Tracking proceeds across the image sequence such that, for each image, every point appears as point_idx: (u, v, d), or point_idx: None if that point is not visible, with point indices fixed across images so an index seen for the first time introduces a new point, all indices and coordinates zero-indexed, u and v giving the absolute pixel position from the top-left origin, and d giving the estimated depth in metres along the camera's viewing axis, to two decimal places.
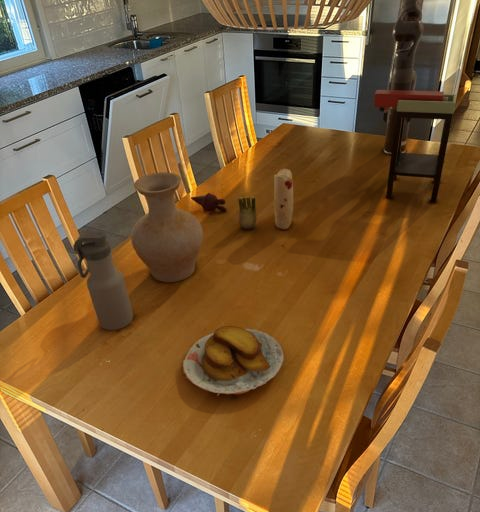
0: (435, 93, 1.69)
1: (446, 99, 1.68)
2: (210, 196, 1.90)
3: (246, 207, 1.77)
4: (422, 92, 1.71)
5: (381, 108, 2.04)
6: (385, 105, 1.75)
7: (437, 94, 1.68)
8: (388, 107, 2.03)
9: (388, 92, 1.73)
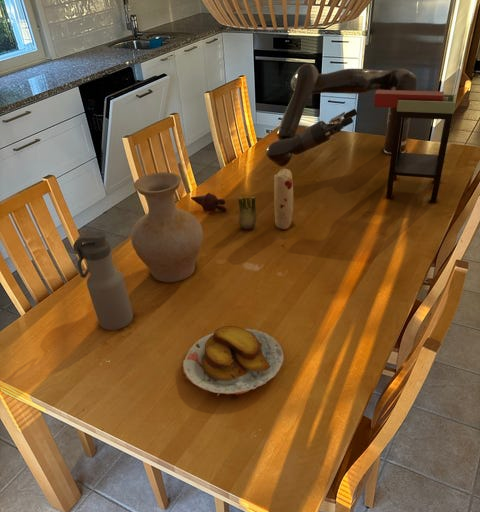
0: (435, 93, 1.69)
1: (446, 99, 1.68)
2: (210, 196, 1.90)
3: (246, 207, 1.77)
4: (422, 92, 1.71)
5: None
6: (385, 105, 1.75)
7: (437, 94, 1.68)
8: None
9: (388, 92, 1.73)
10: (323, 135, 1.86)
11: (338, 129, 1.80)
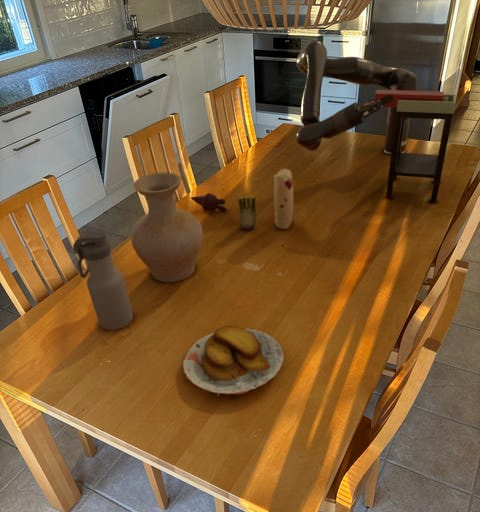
0: (435, 93, 1.69)
1: (446, 99, 1.68)
2: (210, 196, 1.90)
3: (246, 207, 1.77)
4: (422, 92, 1.71)
5: None
6: (385, 105, 1.75)
7: (437, 94, 1.68)
8: None
9: (388, 92, 1.73)
10: (357, 117, 1.79)
11: (377, 107, 1.73)
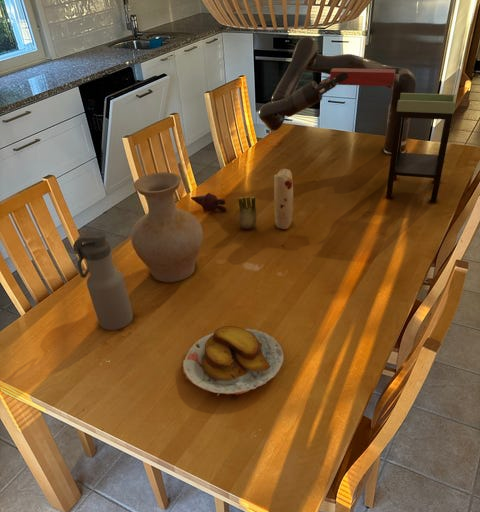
0: (387, 70, 1.77)
1: (397, 76, 1.76)
2: (210, 196, 1.90)
3: (246, 207, 1.77)
4: (375, 70, 1.78)
5: None
6: (340, 83, 1.82)
7: (389, 71, 1.76)
8: None
9: (343, 70, 1.81)
10: (315, 95, 1.86)
11: (333, 85, 1.80)
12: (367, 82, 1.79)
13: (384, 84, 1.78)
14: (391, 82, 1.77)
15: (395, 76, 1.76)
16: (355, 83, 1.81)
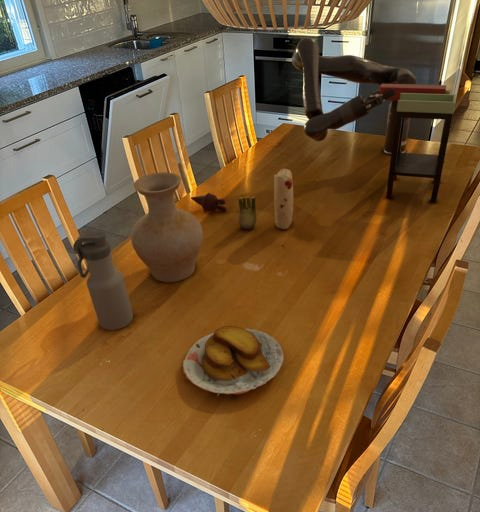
0: (438, 86, 1.76)
1: (448, 92, 1.75)
2: (210, 196, 1.90)
3: (246, 207, 1.77)
4: (425, 86, 1.78)
5: None
6: (390, 98, 1.82)
7: (440, 87, 1.75)
8: None
9: (393, 86, 1.80)
10: (363, 108, 1.85)
11: (380, 101, 1.79)
12: None
13: None
14: None
15: (446, 92, 1.76)
16: None
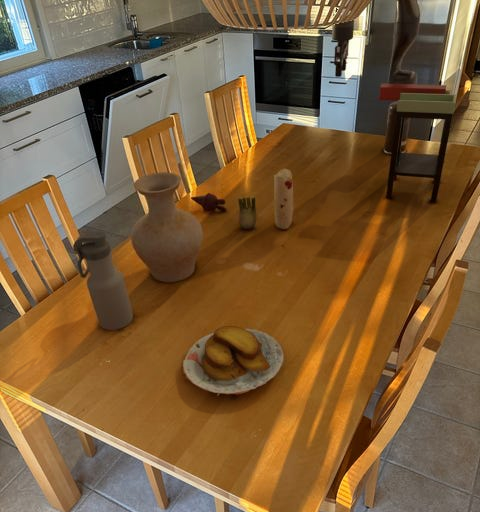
0: (438, 86, 1.76)
1: (448, 92, 1.75)
2: (210, 196, 1.90)
3: (246, 207, 1.77)
4: (425, 86, 1.78)
5: None
6: (390, 98, 1.82)
7: (440, 87, 1.75)
8: None
9: (393, 86, 1.80)
10: (338, 39, 1.81)
11: (336, 63, 1.83)
12: None
13: None
14: None
15: (446, 92, 1.76)
16: None
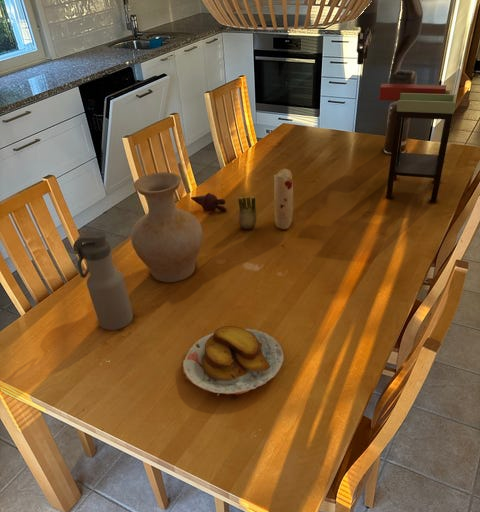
0: (438, 86, 1.76)
1: (448, 92, 1.75)
2: (210, 196, 1.90)
3: (246, 207, 1.77)
4: (425, 86, 1.78)
5: None
6: (390, 98, 1.82)
7: (440, 87, 1.75)
8: None
9: (393, 86, 1.80)
10: (361, 26, 1.77)
11: (359, 50, 1.79)
12: None
13: None
14: None
15: (446, 92, 1.76)
16: None
